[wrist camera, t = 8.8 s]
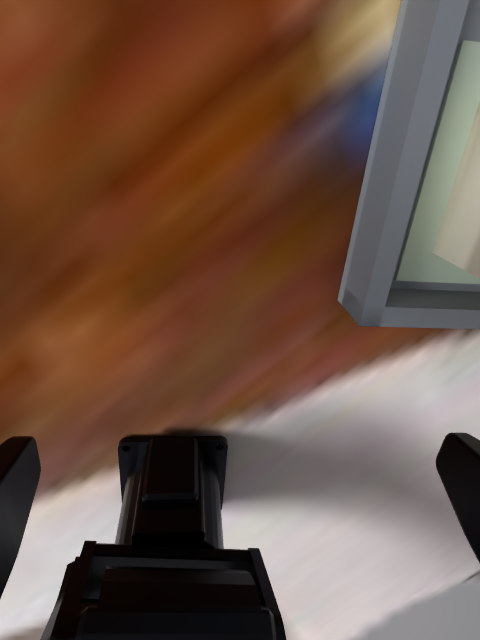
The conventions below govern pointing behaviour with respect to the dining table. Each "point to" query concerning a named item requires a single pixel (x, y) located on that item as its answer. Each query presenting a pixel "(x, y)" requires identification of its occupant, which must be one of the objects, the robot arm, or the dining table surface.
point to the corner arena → (417, 174)
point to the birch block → (464, 210)
